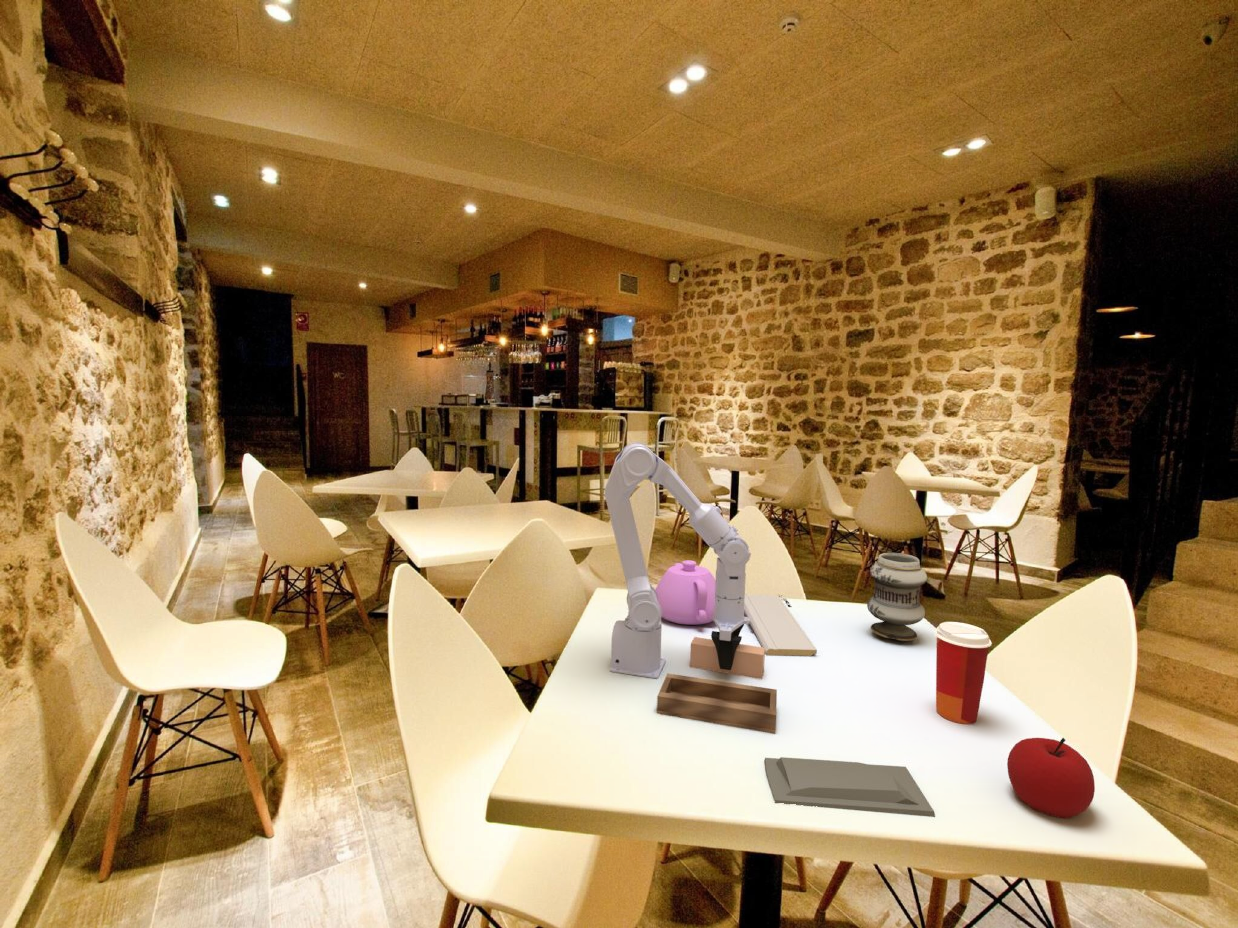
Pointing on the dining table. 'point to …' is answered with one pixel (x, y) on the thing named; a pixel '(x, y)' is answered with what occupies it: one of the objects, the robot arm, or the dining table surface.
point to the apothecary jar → (896, 595)
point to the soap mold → (845, 786)
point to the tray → (718, 702)
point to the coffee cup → (960, 670)
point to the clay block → (744, 662)
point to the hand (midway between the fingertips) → (727, 661)
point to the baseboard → (776, 626)
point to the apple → (1051, 777)
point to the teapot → (687, 594)
